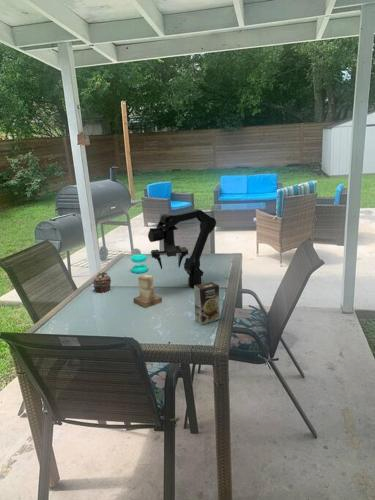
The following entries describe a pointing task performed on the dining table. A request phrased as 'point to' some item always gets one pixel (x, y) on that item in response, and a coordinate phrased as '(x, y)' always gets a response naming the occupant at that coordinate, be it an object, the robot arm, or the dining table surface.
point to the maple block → (146, 287)
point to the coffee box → (206, 302)
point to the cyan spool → (139, 259)
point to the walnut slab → (147, 303)
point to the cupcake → (102, 283)
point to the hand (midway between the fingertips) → (170, 268)
